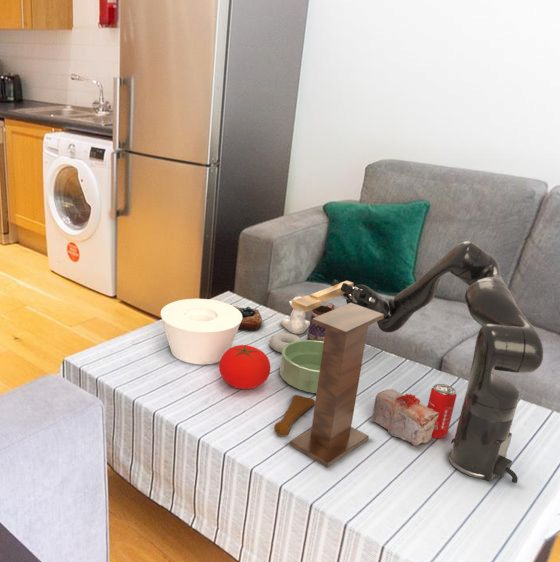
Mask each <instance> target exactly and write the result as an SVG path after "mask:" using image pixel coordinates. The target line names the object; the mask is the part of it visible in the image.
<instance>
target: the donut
mask: <svg viewBox="0 0 560 562" xmlns="http://www.w3.org/2000/svg"><path fill="white" fill-rule="evenodd" d="M299 340H302V338H301V337H299V336H298V335H297V334H294V333H288V332H280V333H276V334H274V335H272V336H271V337H270V338H269V345H270V347H271V348H272V349H273V350H274V351H275V352H278V353H280V354H282V349H283V347H284V346H285V345H286V344H289V343H291V342H294V341H299Z"/></svg>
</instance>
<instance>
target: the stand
mask: <svg viewBox="0 0 560 562" xmlns="http://www.w3.org/2000/svg"><path fill="white" fill-rule="evenodd" d="M383 318H384V314H382V313H379V312H376V311H373V310H370V309H368V308H365V307H362V306H359V305H356V304H353V303H349V304H347V303H346V304H344V305H341V306H339V307H336V308H335V309H334V310H332V311H330V312H327V313H325V314H322V315H320V316H318V317H315V318H313V319H312V323H314V324H316V325H319V326H321V327H324V328H326V329H325V336H324V343H323V351H322V358H321V365H320V372H319V379H318V386H317V393H315V394H316V396H315V400H314V401H315V404H314V407H313V418H312V422H311V423H312V424H311V428H309V429H308V430H306V431H305V432H303V433H301V434H300V435H298V436H296V437H294V438H293V439H291V440H290V441H289V446H291V447H292V448H294V449H295V450H297V451H299V452H301V453H302V454H303V455H305V456H307V457H309V458H311V459H312V460H314V461H315V462H317V463H319V464H320V465H322V466H324V467H326V468H328V467H330V466H332V465H333V464H334V463H336V462H338V461H339V460H341V459H343V458H344V457H345V456H347V455H348V454H350V453H351V452H353V451H354V450H355V449H357V448H358V447H361V446H362V445H363V444H364V443H366V442H368V441H369V438H370V435H368V434H366V433H364V432H362V431H360V430H358V429H357V428H355V427H352V425H353V424H352V423H353V418H354V417H353V416H354V414H355V413H354V411H355V407H356V400H357V394H358V388H359V382H360V377H361V370H362V365H363V359H364V353H365V347H366V342H367V341H366V340H367V335H368V329H369V326H370V325H372V324H374V323H377V321H379V320H381V319H383Z"/></svg>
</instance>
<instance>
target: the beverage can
mask: <svg viewBox="0 0 560 562" xmlns="http://www.w3.org/2000/svg"><path fill="white" fill-rule="evenodd" d="M456 399H457V390H456V389H455V388H454V387H453V386H452V385H451V386H450V385H449V384H444V383H436V384H433V386H432V388H431V390H430V395H429V398H428V403H427V407H428V408H430V409H431V410H433V411H435V412H438V413H439V417H438V419H437V421H436V422H435V426H434V429H433V433H432V437H431V438H433V439H444V438H445V436H446V435H447V434H448V432H449V428H450V424H451V419H452V416H453V412H454V407H455V404H456Z"/></svg>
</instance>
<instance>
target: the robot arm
mask: <svg viewBox="0 0 560 562" xmlns="http://www.w3.org/2000/svg"><path fill="white" fill-rule="evenodd" d="M447 273H450V274H451V275H453V276H454V277H456V278H457V279H459V280H460V281H462V282H463V283H465V285H467V286H468V287H467V288H466V290H465V293H464V302H465V305H466V307H467V309H468V312H469V315H470V316H471V318H472V319H473V320H474V321H475V322H476V323H477V324H479V325H480V326H481V327H480V328H479V331H478V333H477V336H476V340H475V345H474V351H473V357H472V363H471V367H470V371H469V377H468V383H467V387H466V391H465V395H464V397H463V398H464V399H463V403H462V406H461V410H460V414H459V419H458V422H457V426H456V431H455V434H454V438H452V439H451V441H450V445H451V444H452V447H451V450H450V454H449V462H450V464H451V465H452V466H453V468H455V469H456V470H458V471H459V472H460V473H463V474H465V475H467V476H469V477H472V478H477V479H481V480H482V479H483V480H486V481H487V482H491V481H493V479H494V478H496V477H497V476H498V477H500V478H502V477H504V476H505V475H506V474H508V475H509V476H511V482H512V483H513V484H517V483H518V480H519V478H518V475H517V473H516V472H514V471H513V469H511V466H512V463H513V460H511V459H509V458H507V454H508V451H509V447H510V443H511V440H512V436H513V433H512V432H510V431H511V429H512V424H513V422H514V418H515V415H516V412H517V407H518V404H519V401H520V396H521V393H520V390H519V388H518V387H517V386H516V385H515V384H514V383H512V382H511V381H509V380H507V379H505V378H503V377H501V376H499V375H497V374H495V373H494V371H499V372H506V373H514V374H532V373H534V372H535V373H536V371H538V370H539V368H540V367H541V366H542V364H543V361H544V358H545V357H544V356H545V353H544V351H545V349H544V345H543V341H542V337H541V336H540V334H539V333H538V331H537V330H536V328H535V327H534V326H533V325H532V323H531V322H530V321H529V320H528V319H527V318H526V317H525V315H524V314H523V313H522V311H521V309H520V308H519V306H518V305H517V303H516V300H515V298H514V295H513V294H512V292H511V291H510V288H509V287H508V286H507V284H506V283H505V282H506V281H505V280H504V279H503V278H502V273H501V269H500V266H499V262H498V261H497V259H496V258H495V257H494V256H493V255H491V253H489V252H487V251H486V250H484V249H483V248H481V247H480V246H479V245H477V244H476V243H474V242H472V241H469V240H465V241H461V242H460V243H458V244H456V245H454V246H453V247H452V248H451V249H450V250H448V251H447V253H445V254H444V255H443V256H442V257H441V258H439V260H437V261H436V262H435V263H434V264H433V265H432V266H431V267H430V268H429V269H427V271H426V272H425V273H423V275H421V277H419V278H418V279H417V280H415V281H414V282H413V283H412V284H410V285H409V286H407V287H406V288H404V289H403V290H401V291H399V292H398V293H397V294H396V295H395V296H394V297H393V298H392V297H390V296H389V297H387V296H386V297H385V296H381V295H380V294H379V293H378V292H377V291H375V290H374V289H372V288H371V287H369V286H367V285H365V284H356V285H353V287H352V286H350V285H348V284H346V283H343V284H342V286H341V291H343V292H344V294H342V295H340V296H341V297H343V299H345V301H346V304H349V303H353V304H356V305H359V306H362V307H365V308H368V309H370V310H373V311H376V312H379V313H382V314H384V318H383V319H381V320H379V321H377V322H376V323H377V326H378V328H379V330H380V331H381V332H383V333H388V334H389V333H394V332H397V331H399V330H400V329H401V328H403V327H404V325H405V324H406V323H407V322H408V321H409V319H410V318H411V317H412V316H413V315H414V314H415V313H416V312H418V311H419V310H421V309H422V308H424V307H426V306H427V305H429V304H430V303H431V302H432V300H433V299H434V298H435V295H436V294H437V290H438V287H439V283H440V280H441V279H442V277H443V276H444V275H445V274H447ZM339 283H341V281H339V280H336V279H333V280H332V282H331V284H330V287H331V286H334V285H337V284H339Z"/></svg>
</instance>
